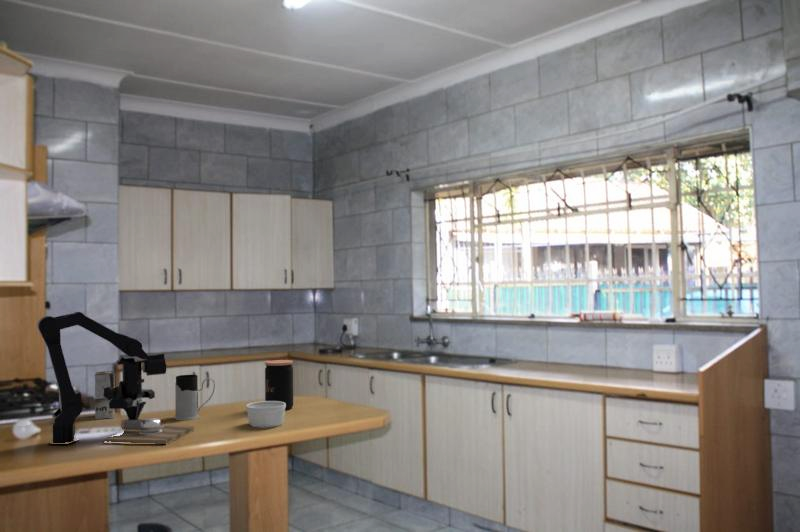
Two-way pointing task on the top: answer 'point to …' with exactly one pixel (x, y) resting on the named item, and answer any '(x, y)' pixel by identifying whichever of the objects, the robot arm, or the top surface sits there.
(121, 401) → the robot arm
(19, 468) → the top surface
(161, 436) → the lock board
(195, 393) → the grey black mug
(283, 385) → the coffee jar
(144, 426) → the lock knob
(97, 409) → the coffee box
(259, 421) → the ramekin
